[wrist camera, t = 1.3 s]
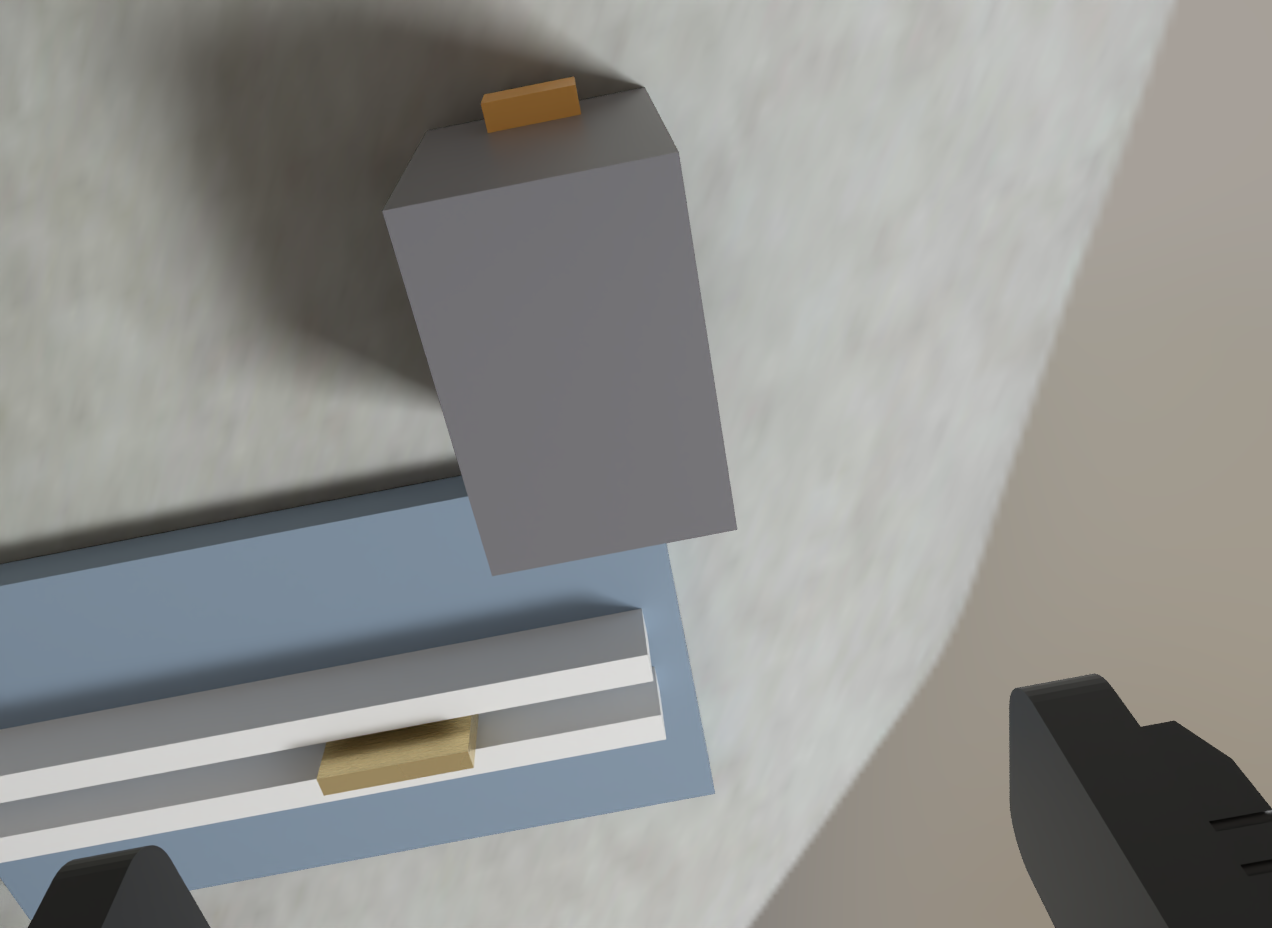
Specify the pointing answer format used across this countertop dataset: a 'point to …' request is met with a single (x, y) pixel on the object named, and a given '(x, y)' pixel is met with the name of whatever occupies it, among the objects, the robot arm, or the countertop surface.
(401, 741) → the wooden plank piece
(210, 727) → the mounting plate
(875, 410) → the countertop surface
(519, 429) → the DIN module
